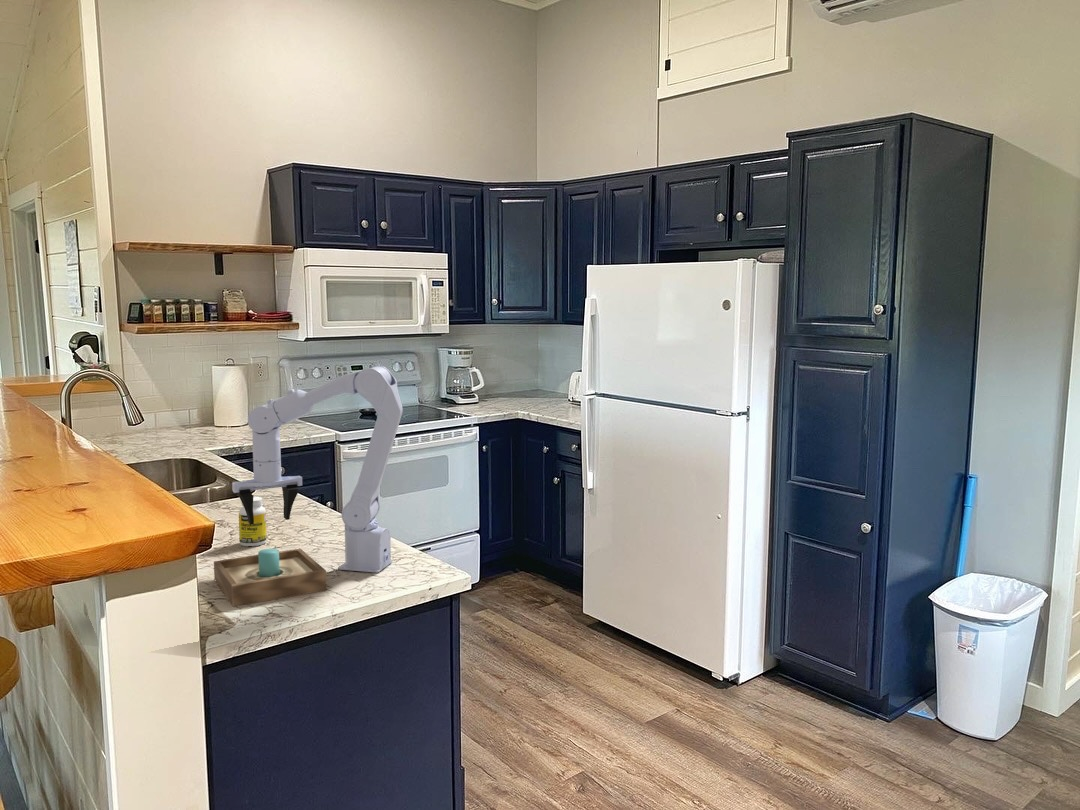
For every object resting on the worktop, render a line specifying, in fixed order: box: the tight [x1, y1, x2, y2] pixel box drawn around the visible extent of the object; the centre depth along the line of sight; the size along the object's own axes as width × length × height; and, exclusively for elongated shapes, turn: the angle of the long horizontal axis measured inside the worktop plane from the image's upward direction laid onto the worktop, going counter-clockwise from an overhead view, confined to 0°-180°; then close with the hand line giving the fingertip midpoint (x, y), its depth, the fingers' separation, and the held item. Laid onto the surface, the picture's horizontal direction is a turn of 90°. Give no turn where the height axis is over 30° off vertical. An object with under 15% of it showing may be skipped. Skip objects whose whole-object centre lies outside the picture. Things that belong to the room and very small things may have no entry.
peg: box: [257, 548, 280, 577], centre depth 168 cm, size 4×4×7 cm
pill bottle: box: [238, 496, 267, 547], centre depth 197 cm, size 6×6×11 cm
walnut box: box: [213, 548, 328, 607], centre depth 168 cm, size 18×18×4 cm
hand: (269, 521), depth 180 cm, fingers open, 7 cm apart
